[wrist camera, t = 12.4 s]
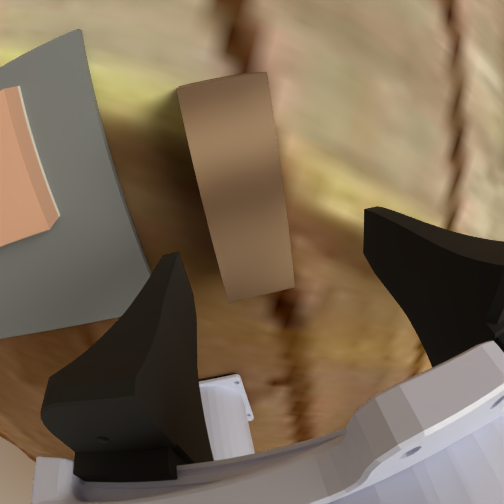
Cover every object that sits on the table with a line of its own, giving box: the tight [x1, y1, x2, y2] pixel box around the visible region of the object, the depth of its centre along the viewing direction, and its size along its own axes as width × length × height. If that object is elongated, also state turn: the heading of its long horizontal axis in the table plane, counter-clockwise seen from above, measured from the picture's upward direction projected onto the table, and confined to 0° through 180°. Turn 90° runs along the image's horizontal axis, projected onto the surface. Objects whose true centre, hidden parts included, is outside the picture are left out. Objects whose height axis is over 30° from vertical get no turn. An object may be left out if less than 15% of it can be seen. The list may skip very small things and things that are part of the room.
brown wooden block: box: [176, 72, 295, 303], centre depth 18 cm, size 12×4×5 cm, turn 9°
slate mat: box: [0, 29, 152, 339], centre depth 18 cm, size 20×19×1 cm
